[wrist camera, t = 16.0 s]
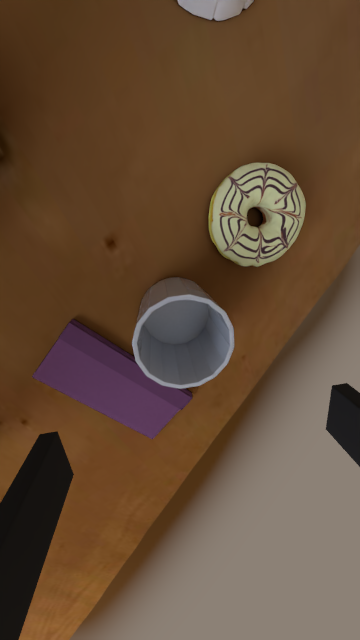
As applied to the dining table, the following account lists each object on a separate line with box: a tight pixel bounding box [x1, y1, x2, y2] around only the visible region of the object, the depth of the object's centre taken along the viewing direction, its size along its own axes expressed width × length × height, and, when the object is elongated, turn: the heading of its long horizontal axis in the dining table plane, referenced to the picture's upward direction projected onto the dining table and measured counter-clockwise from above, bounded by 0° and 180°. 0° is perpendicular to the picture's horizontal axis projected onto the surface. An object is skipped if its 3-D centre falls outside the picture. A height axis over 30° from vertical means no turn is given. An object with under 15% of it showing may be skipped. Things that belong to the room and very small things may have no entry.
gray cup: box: [132, 277, 234, 389], centre depth 26 cm, size 10×10×10 cm
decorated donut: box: [208, 163, 306, 267], centre depth 26 cm, size 10×11×4 cm
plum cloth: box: [32, 319, 192, 439], centre depth 33 cm, size 10×20×1 cm, turn 51°
